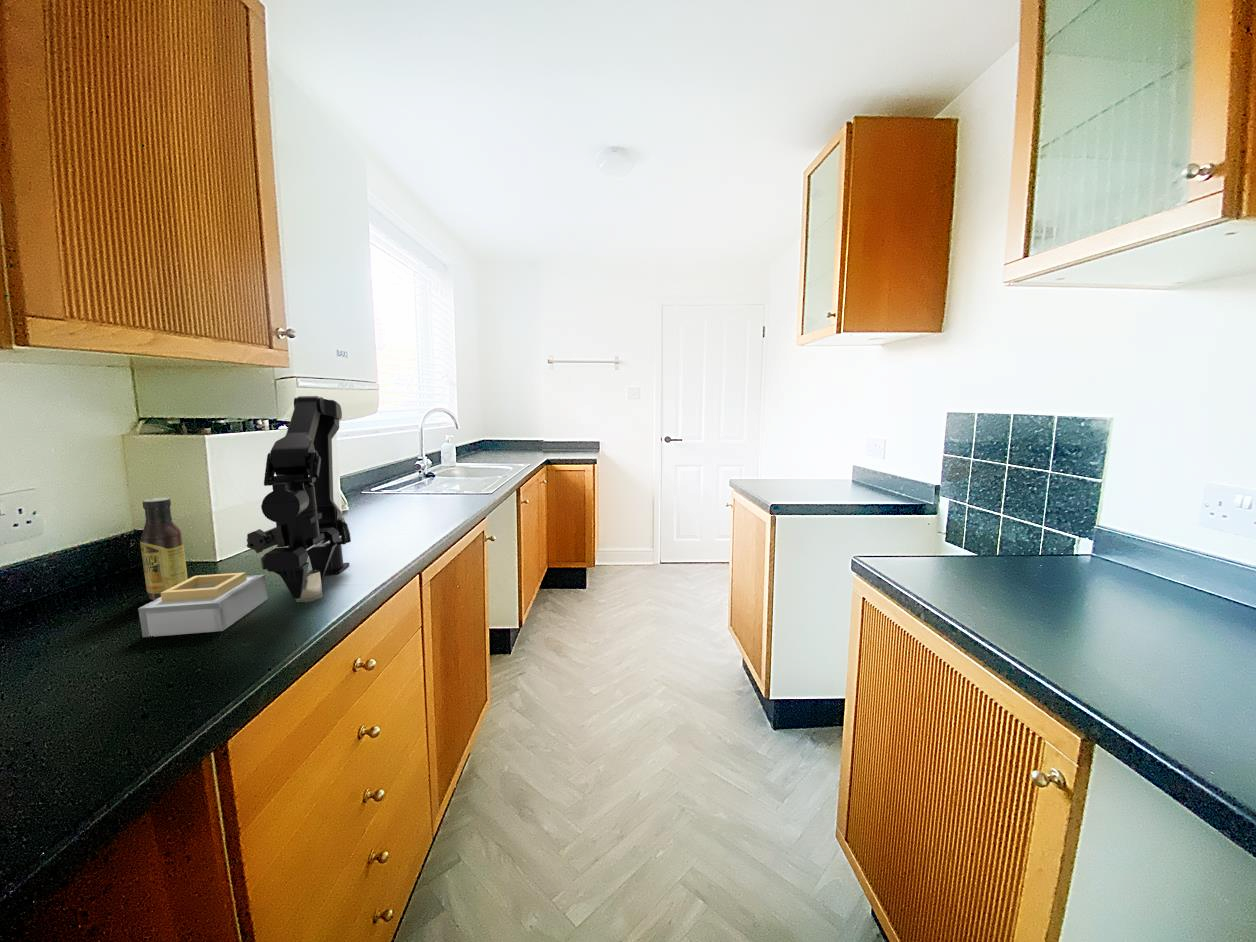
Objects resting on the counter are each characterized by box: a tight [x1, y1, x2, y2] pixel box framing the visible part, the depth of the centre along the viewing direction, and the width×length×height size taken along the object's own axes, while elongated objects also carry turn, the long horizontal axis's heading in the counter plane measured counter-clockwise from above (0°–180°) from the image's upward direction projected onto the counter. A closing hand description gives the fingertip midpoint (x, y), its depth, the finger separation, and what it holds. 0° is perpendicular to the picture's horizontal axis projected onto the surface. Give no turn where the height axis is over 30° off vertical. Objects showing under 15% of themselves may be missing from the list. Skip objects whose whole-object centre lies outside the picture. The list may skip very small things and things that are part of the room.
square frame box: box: [137, 571, 269, 638], centre depth 92 cm, size 14×12×6 cm
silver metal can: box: [295, 569, 323, 603], centre depth 100 cm, size 4×4×5 cm
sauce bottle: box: [139, 497, 189, 601], centre depth 102 cm, size 6×6×20 cm
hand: (308, 589), depth 100 cm, fingers open, 9 cm apart
